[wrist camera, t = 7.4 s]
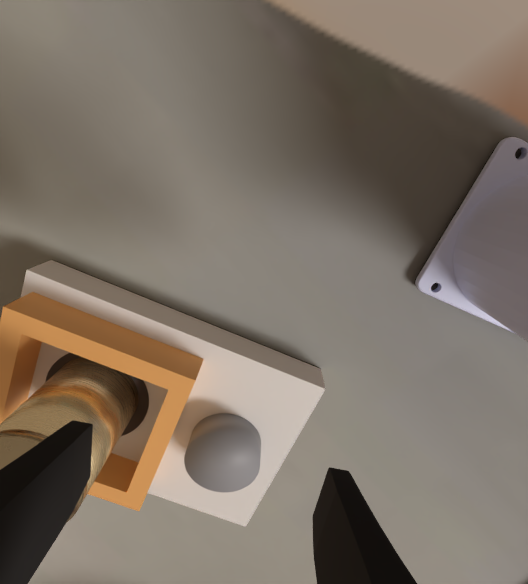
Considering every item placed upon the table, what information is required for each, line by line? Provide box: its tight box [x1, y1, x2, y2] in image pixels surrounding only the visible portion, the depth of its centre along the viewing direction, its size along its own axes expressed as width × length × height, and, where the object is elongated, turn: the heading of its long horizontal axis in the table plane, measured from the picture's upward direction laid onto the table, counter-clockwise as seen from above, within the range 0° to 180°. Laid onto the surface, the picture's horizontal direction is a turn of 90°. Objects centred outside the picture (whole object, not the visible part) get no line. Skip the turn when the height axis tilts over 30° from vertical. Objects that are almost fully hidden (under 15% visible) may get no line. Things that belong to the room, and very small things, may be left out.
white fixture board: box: [0, 260, 325, 527], centre depth 20 cm, size 16×11×4 cm
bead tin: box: [0, 357, 138, 522], centre depth 16 cm, size 4×4×6 cm
